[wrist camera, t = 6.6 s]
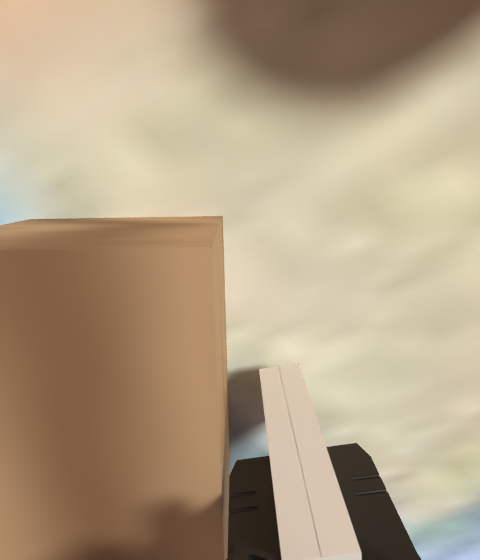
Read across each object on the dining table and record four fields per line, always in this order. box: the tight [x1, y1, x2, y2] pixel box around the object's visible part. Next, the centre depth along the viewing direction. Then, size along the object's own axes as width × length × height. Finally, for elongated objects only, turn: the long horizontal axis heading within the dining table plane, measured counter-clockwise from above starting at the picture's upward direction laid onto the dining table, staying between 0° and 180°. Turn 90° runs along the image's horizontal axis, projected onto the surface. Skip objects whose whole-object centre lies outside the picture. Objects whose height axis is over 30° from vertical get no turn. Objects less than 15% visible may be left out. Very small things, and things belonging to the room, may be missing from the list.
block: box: [0, 216, 230, 560], centre depth 12 cm, size 7×14×6 cm, turn 1°
